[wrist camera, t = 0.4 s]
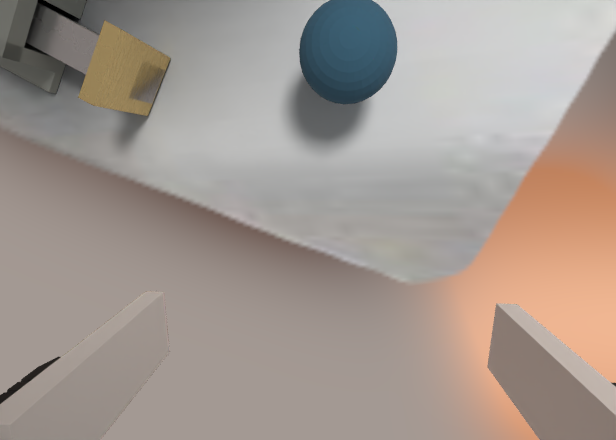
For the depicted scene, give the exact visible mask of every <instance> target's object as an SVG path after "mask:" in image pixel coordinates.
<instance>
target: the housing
mask: <svg viewBox="0 0 616 440" xmlns="http://www.w3.org/2000/svg"><path fill="white" fill-rule="evenodd" d="M45 1H47V2H48V3H50V4H52V5H54V6H56V7H58V8H60V9H62V10H64V11H66V12H67V13H69V14H71V15H73V16H75V17H77V18H79V19H81V16H82V13H83V10H84V7H85V4H86V1H87V0H45ZM37 2H38V0H0V67H2V68H4V69H6V70H8V71H10V72H12V73H13V74H15V75H17V76H19V77H21V78H23V79H25V80H27V81H28V82H30V83H32V84H34V85H36V86H38V87H40V88H42V89H43V90H45V91H47V92H49V93H54V94H56V92H57V89H58V86H59V83H60V80H61V77H62V74H63V71H64V68H65V65H66V64H65V63H63V62H61V61H60V60H58V59H56V58H54V57H52V56H50V55H48V54H47V53H45V52H43V51H41V50H39V49H37V48H35V47H34V46H32V45H30V44H28V43H26V39H27V35H28V32H29V29H30V25H31V22H32V18H33V15H34V12H35V8H36V5H37Z"/></svg>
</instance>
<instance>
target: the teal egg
mask: <svg viewBox="0 0 616 440" xmlns="http://www.w3.org/2000/svg"><path fill="white" fill-rule="evenodd" d="M299 54H300V64H301V68H302V72H303V74H304V77H305V79H306V81H307V82H308V84H309V85H310V86H311V88H312V89H313V90H314V91H315V92H316V93H317V94H318V95H320V96H321V97H323V98H324V99H326V100H328V101H331V102H334V103H338V104H353V103H357V102H361V101H363V100H365V99H367V98H369V97H371V96H372V95H374V94H375V93H376V92H378V91H379V90H380V89H381V88H382V86H383V85H384V84H385V83H386V81H387V80H388V78H389V76H390V75H391V72H392V70H393V67H394V64H395V61H396V55H397V38H396V33H395V29H394V27H393V24H392V22H391V20H390V18H389V16H388V15H387V13H386V12H385V11H384V10H383V9H382V8H381V7H380V6H379V5H378V4H377V3H375V2H374V1H372V0H330V1H328V2H326V3H324V4H323V5H322V6H321V7H320V8H318V9H317V10H316V11H315V12H314V14H313V15H312V16H311V18H310V19H309V20H308V22H307V24H306V26H305V28H304V30H303V33H302V37H301V41H300V49H299Z"/></svg>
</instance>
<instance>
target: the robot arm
mask: <svg viewBox="0 0 616 440" xmlns="http://www.w3.org/2000/svg"><path fill="white" fill-rule="evenodd" d="M169 352H170V350H169V340H168V329H167V318H166V307H165V297H164V292H152V291H146V292H144V293H143V294H142V295H140V296H139V297H138V298H137V299H135V300H134V301H133V302H131V303H130V304H129V305H128V306H126V307H125V308H124V309H122V310H121V311H120V312H119V313H117V314H116V315H115V316H113V317H112V318H111V319H110V320H108V321H107V322H106V323H104V324H103V325H102V326H101V327H99V328H98V329H97V330H95V331H94V332H93V333H91V334H90V335H89V336H88V337H86V338H85V339H84V340H82V341H81V342H80V343H79V344H77V345H76V346H75V347H73V348H72V349H71V350H70V351H68V352H67V353H66V354H64V355H63V356H62V357H57V358H55V359H53V360H51V361H49V362H47V363H45V364H43V365H41V366H39V367H37V368H36V369H35V370H33V371H32V372H31V373H30V374H28V375H27V376H25V377H24V378H23V379H22V380H21V382H17V383H16V384H15V385H13V386H12V387H11V388H9V389H8V390H7V392H6V393H3V394H1V395H0V440H101V439H102V437H103V436H104V435H105V433H106V432H107V431H108V430H109V428H110V427H111V426H112V425H113V423H114V422H115V420H117V418H118V417H119V416H120V414H121V413H122V412H123V411H124V409H125V408H126V407H127V405H128V404H129V403H130V402H131V400H132V399H133V398H134V397H135V395H136V394H137V393H138V391H139V390H140V389H141V388H142V387H143V385H144V384H145V383H146V381H147V380H148V379H149V378H150V376H151V375H152V374H153V373H154V371H155V370H156V369H157V367H158V366H159V365H160V364H161V362H162V361H163V360H164V359H165V357H166V356H167V355H168V354H169ZM488 368H489V370H490V371H491V373H492V374H493V375H494V377H495V378H496V380H497V381H498V382H499V384H500V385H501V386H502V388H503V389H504V391H505V392H506V393H507V395H508V396H509V398H510V399H511V400H512V402H513V403H514V405H515V406H516V407H517V409H518V410H519V412H520V413H521V414H522V416H523V417H524V419H525V420H526V421H527V423H528V424H529V426H530V427H531V428H532V430H533V431H534V432H535V434H536V435H537V437H538V438H539V439H540V440H616V383H611V382H609V381H608V380H607V379H606V378H604V377H603V376H602V375H601V374H600V373H599V372H597V371H596V370H595V369H594V368H593V367H591V366H590V365H589V364H588V363H587V362H585V361H584V360H583V359H582V358H581V357H579V356H578V355H577V354H576V353H574V352H573V351H572V350H571V349H570V348H569V347H567V346H566V345H565V344H564V343H563V342H561V341H560V340H559V339H558V338H557V337H555V336H554V335H553V334H552V333H551V332H550V331H548V330H547V329H546V328H545V327H544V326H542V325H541V324H540V323H539V322H538V321H536V320H535V319H534V318H533V317H532V316H530V315H529V314H528V313H527V312H526V311H524V310H523V309H522V308H521V307H520V306H519V305H517V304H496V310H495V317H494V324H493V331H492V338H491V346H490V353H489V360H488Z"/></svg>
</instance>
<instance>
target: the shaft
mask: <svg viewBox="0 0 616 440" xmlns="http://www.w3.org/2000/svg"><path fill="white" fill-rule="evenodd" d="M26 43H28V44H30V45H32V46H34V47H35V48H37V49H39V50H41V51H43V52H45V53H47V54H48V55H50V56H52V57H54V58H56V59H58V60H60V61H61V62H63V63H65V64H67V65H69V66H71V67H73V68H74V69H76V70H78V71H80V72H82V73H84V74H86V76H85V79H84V82H83V85H82V88H81V91H80V93H79V96H78V98H80V99H82V100H84V101H86V102H88V103H89V104H91V105H93V106H98V107H103V108H109V109H114V110H119V111H124V112H129V113H135V114H140V115H145V116H148V114H149V111H150V109H151V106H152V104H153V101H154V99H155V96H156V94H157V91H158V89H159V86H160V84H161V81H162V79H163V76H164V73H165V71H166V68H167V66H168V63H169V61H170V58H169V57H168V56H166V55H164V54H163V53H161V52H159V51H157V50H156V49H154V48H152V47H151V46H149V45H147V44H145V43H144V42H142V41H140V40H139V39H137V38H135V37H133V36H132V35H130V34H128V33H127V32H125V31H123V30H121V29H120V28H118V27H116V26H114V25H112V24H110V23H109V22H107V21H105V20H104V23H103V26H102V29H101V32H100V35H99V34H97V33H95V32H93V31H91V30H89V29H88V28H86V27H84V26H82V25H80V24H78V23H76V22H75V21H73V20H71V19H69V18H67V17H65V16H64V15H62V14H60V13H58V12H56V11H54V10H53V9H51V8H49V7H47V6H45V5H43V4H42V3H40V2H37V5H36V8H35V12H34V15H33V18H32V22H31V25H30V29H29V32H28V35H27V39H26Z"/></svg>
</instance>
